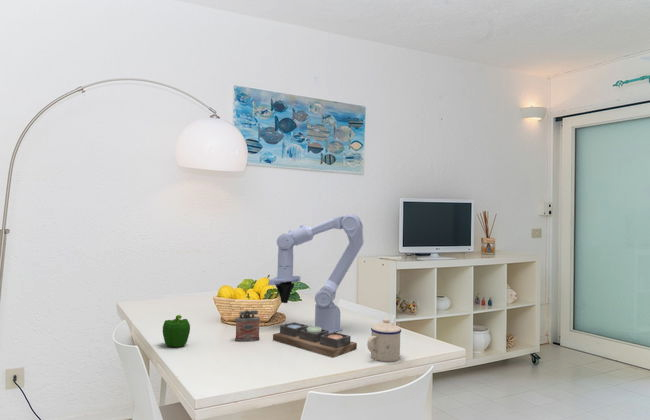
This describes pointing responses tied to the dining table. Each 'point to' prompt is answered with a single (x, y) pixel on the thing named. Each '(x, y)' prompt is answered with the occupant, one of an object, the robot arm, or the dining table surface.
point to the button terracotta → (335, 336)
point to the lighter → (247, 326)
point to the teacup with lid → (385, 341)
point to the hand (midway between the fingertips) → (284, 302)
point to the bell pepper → (176, 331)
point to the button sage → (314, 329)
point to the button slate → (294, 326)
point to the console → (314, 340)
